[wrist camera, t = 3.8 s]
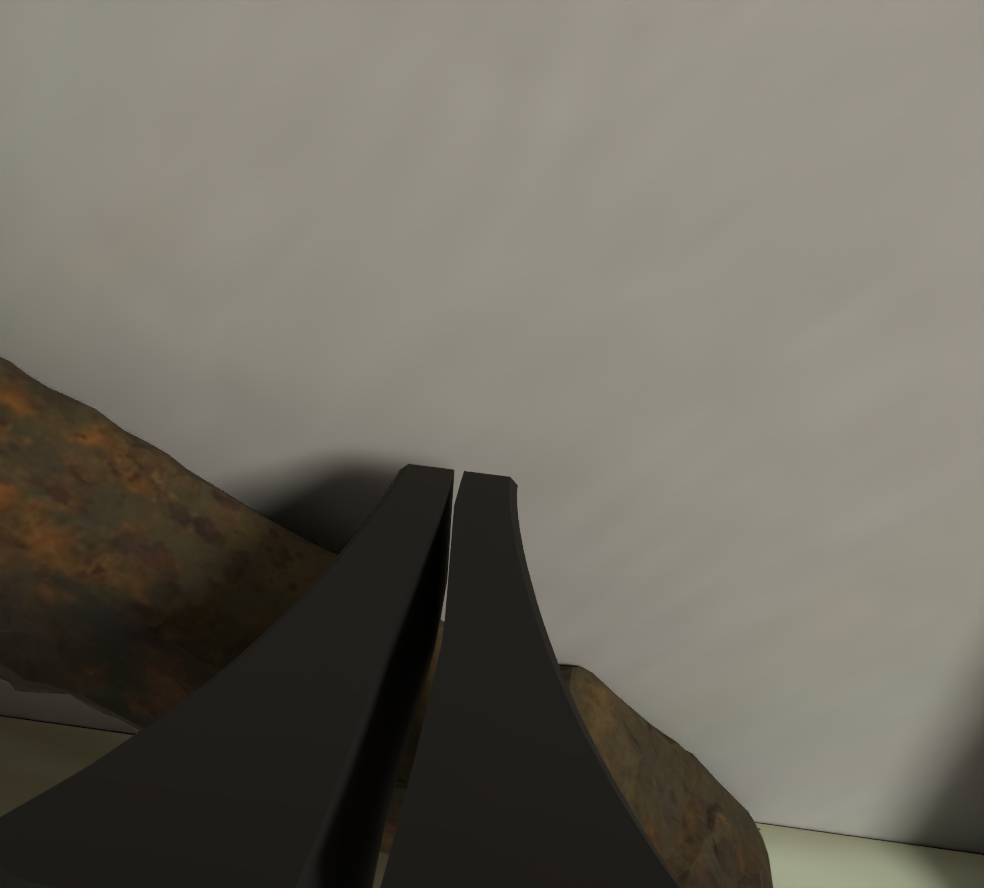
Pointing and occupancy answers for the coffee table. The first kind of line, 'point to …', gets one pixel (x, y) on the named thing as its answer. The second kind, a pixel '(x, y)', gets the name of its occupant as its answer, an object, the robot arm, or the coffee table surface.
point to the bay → (67, 750)
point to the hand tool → (243, 613)
